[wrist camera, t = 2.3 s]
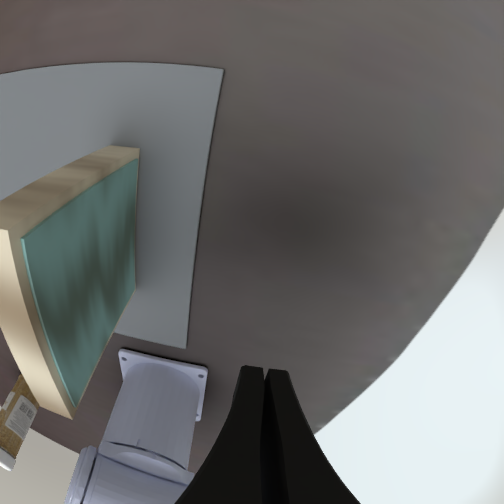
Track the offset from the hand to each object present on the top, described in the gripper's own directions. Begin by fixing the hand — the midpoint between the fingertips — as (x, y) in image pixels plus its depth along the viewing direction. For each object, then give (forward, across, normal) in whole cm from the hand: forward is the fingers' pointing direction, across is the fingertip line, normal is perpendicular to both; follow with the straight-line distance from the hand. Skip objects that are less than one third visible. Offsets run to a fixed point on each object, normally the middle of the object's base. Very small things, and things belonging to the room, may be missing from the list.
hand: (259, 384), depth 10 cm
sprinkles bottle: (+11, +25, +26) cm, 38 cm away
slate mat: (+10, +15, 0) cm, 18 cm away
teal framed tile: (+10, +9, 0) cm, 13 cm away
